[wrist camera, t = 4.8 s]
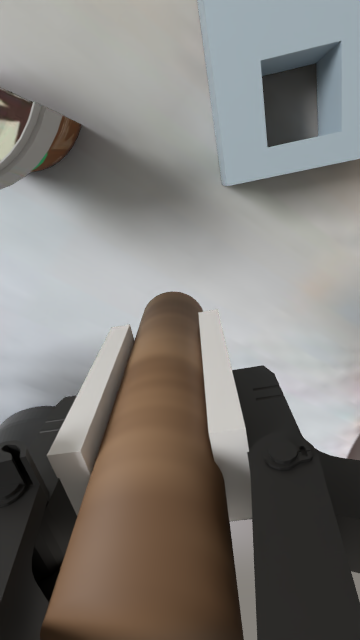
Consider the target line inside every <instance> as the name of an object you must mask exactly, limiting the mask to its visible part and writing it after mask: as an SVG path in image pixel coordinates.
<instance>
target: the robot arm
mask: <svg viewBox="0 0 360 640" xmlns="http://www.w3.org/2000/svg"><path fill="white" fill-rule="evenodd" d="M198 314H199V326H200V337H201V349H202V361H203V373H204V385H205V397H206V409H207V421H208V432H209V438H210V443H211V447H212V452H213V457H214V461H215V462H216V464H217V465H218V467H219V468H220V470H221V472H222V474H223V478H224V482H225V490H226V498H227V506H228V515H229V521H237V520H246V519H252V522H253V543H254V544H253V546H254V569H255V590H256V591H255V593H256V614H257V615H256V616H257V640H360V602H359V599H358V595H357V592H356V588H355V584H354V581H353V577H352V574H351V571H353V572H357V573H360V461H359V460H352V459H345V458H339V457H334V456H330V455H328V454H325V453H323V452H320V451H318V450H317V449H315V448H314V447H313V445H311V444H310V443H309V442H308V441H306V440H305V439H304V438H303V436H302V434H301V433H300V430H299V428H298V426H297V424H296V421H295V419H294V417H293V415H292V412H291V410H290V408H289V406H288V403H287V401H286V399H285V397H284V395H283V392H282V390H281V388H280V386H279V383H278V381H277V379H276V377H275V374H274V373H273V372H271V371H270V370H269V369H267V368H266V367H265V366H257V367H250V368H244V369H237V370H232V368H231V364H230V359H229V355H228V351H227V347H226V342H225V338H224V334H223V330H222V325H221V321H220V317H219V312H218V309H215V310H210V311H204V312H198ZM133 344H134V338H133V334H132V331H131V327H130V324H129V325H123V326H118V327H112V328H111V329H110V331H109V333H108V335H107V337H106V339H105V341H104V343H103V345H102V347H101V349H100V351H99V353H98V355H97V357H96V359H95V361H94V363H93V365H92V367H91V369H90V371H89V373H88V375H87V377H86V379H85V381H84V383H83V385H82V387H81V389H80V391H79V393H78V395H77V396H71V397H65V398H64V399H63V400H61V401H60V402H59V403H58V404H57V405H56V406H55V407H52V406H44V407H34V408H29V409H26V410H23V411H20V412H18V413H15V414H14V415H12V416H10V417H9V418H7V419H6V420H5V421H4V422H3V423H2V424H1V425H0V640H40V631H41V626H42V623H43V620H44V617H45V614H46V611H47V608H48V605H49V602H50V599H51V596H52V592H53V589H54V586H55V583H56V580H57V577H58V574H59V571H60V568H61V565H62V562H63V559H64V556H65V553H66V549H67V546H68V543H69V540H70V537H71V534H72V531H73V528H74V525H75V522H76V519H77V516H78V513H79V510H80V507H81V503H82V500H83V497H84V494H85V491H86V488H87V485H88V482H89V479H90V476H91V473H92V470H93V467H94V464H95V461H96V457H97V454H98V451H99V448H100V445H101V442H102V439H103V436H104V433H105V430H106V427H107V424H108V421H109V418H110V414H111V411H112V408H113V405H114V402H115V399H116V396H117V393H118V390H119V387H120V384H121V381H122V378H123V375H124V372H125V368H126V365H127V362H128V359H129V356H130V353H131V350H132V347H133Z"/></svg>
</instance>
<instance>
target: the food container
mask: <svg viewBox="0 0 360 640" xmlns="http://www.w3.org/2000/svg"><path fill="white" fill-rule="evenodd" d="M80 128H81V124H79V123H77V122H75V121H73V120H71V119H69V118H67V117H65V116H63V115H62V114H60V113H57V112H55V111H53V110H51V109H49V108H47V107H45V106H43V105H40V104H38V103H36V102H34V101H33V102H31V101H29V100H27V99H25V98H22V97H20V96H18V95H16V94H14V93H12V92H9V91H7V90H5V89H3V88H1V87H0V189H2V188H5V187H8V186H10V185H12V184H14V183H16V182H17V181H19V180H20V179H22V178H23V177H25V176H26V175H27V174H28V173H29V172H35V171H40V170H44V169H46V168H49V167H51V166H53V165H54V164H56V163H58V162H59V161H60V160H61V159H62V158H63V157H65V156H66V155H67V153H68V152H69V151H70V149H71V148H72V147H73V145H74V143H75V141H76V139H77V137H78V134H79V131H80Z"/></svg>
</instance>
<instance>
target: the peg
mask: <svg viewBox="0 0 360 640" xmlns="http://www.w3.org/2000/svg"><path fill="white" fill-rule="evenodd" d="M198 312H203V310H202V308H201V306H200V305H199V303H198V302H197V301H196V300H195V299H193V298H192V297H191V296H189V295H187V294H184V293H181V292H166V293H162V294H160V295H158V296H156V297H155V298H153V299H152V300H151V301H150V302H149V303H148V305H147V306H146V308H145V310H144V313H143V316H142V319H141V322H140V326H139V329H138V332H137V335H136V338H135V341H134V344H133V347H132V350H131V353H130V356H129V359H128V362H127V365H126V368H125V372H124V375H123V378H122V381H121V384H120V387H119V390H118V393H117V396H116V399H115V402H114V405H113V408H112V411H111V414H110V418H109V421H108V424H107V427H106V430H105V433H104V436H103V439H102V442H101V445H100V448H99V451H98V454H97V457H96V461H95V464H94V467H93V470H92V473H91V476H90V479H89V482H88V485H87V488H86V491H85V494H84V497H83V500H82V503H81V507H80V510H79V513H78V516H77V519H76V522H75V525H74V528H73V531H72V534H71V537H70V540H69V543H68V546H67V549H66V553H65V556H64V559H63V562H62V565H61V568H60V571H59V574H58V577H57V580H56V583H55V586H54V589H53V592H52V596H51V599H50V602H49V605H48V608H47V611H46V614H45V617H44V620H43V623H42V626H41V631H40V640H244V639H243V630H242V622H241V614H240V605H239V597H238V590H237V581H236V572H235V565H234V556H233V548H232V539H231V531H230V523H229V515H228V506H227V498H226V490H225V482H224V478H223V474H222V472H221V470H220V468H219V467H218V465H217V464H216V462H215V461H214V457H213V452H212V447H211V443H210V438H209V432H208V421H207V409H206V397H205V385H204V373H203V361H202V349H201V337H200V326H199V314H198Z"/></svg>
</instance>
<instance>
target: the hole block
mask: <svg viewBox="0 0 360 640" xmlns="http://www.w3.org/2000/svg"><path fill="white" fill-rule="evenodd" d="M197 2H198V10H199V17H200V24H201V32H202V39H203V47H204V54H205V62H206V69H207V77H208V84H209V91H210V99H211V106H212V114H213V121H214V129H215V136H216V143H217V151H218V158H219V166H220V173H221V181H222V185H225V186H231V185H236V184H240V183H245V182H250V181H255V180H260V179H264V178H269V177H274V176H279V175H284V174H288V173H293V172H298V171H303V170H308V169H312V168H317V167H322V166H327V165H332V164H336V163H341V162H346V161H351V160H356V159H360V0H197ZM315 63H316V72H317V112H318V137H313V138H308V139H304V140H299V141H295V142H290V143H286V144H281V145H276V146H272V147H267V135H266V123H265V110H264V98H263V85H262V76H265V75H269V74H274V73H278V72H282V71H286V70H290V69H294V68H298V67H303V66H307V65H311V64H315Z"/></svg>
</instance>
